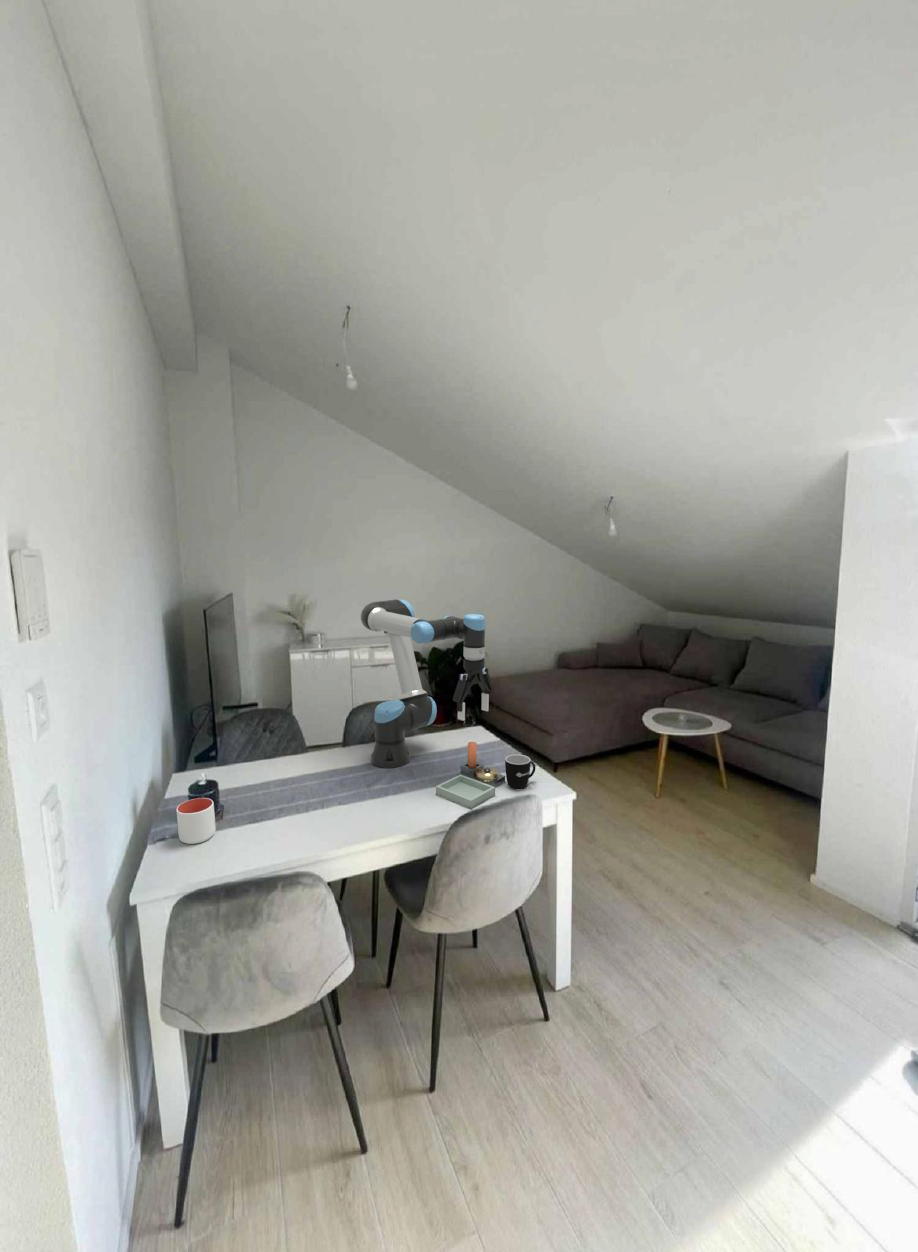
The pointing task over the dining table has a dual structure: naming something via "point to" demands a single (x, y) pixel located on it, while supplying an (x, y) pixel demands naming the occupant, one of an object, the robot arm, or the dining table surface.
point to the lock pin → (472, 754)
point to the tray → (465, 791)
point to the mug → (518, 771)
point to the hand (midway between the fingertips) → (473, 715)
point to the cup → (196, 820)
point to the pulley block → (482, 774)
